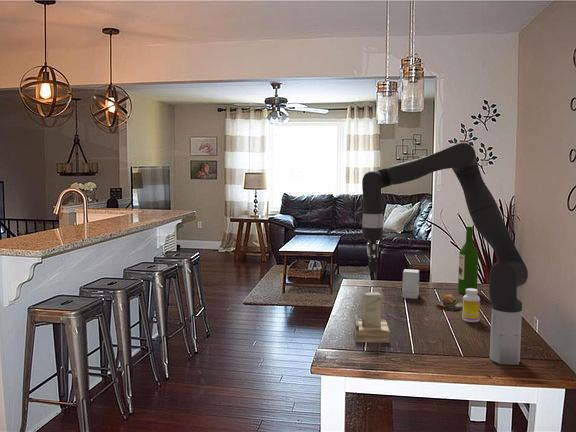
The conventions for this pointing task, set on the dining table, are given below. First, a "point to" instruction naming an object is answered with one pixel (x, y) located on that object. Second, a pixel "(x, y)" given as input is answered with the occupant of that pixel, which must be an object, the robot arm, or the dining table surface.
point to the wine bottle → (468, 264)
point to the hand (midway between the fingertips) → (372, 269)
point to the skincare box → (371, 309)
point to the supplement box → (410, 284)
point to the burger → (450, 303)
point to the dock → (371, 332)
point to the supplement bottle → (471, 306)
